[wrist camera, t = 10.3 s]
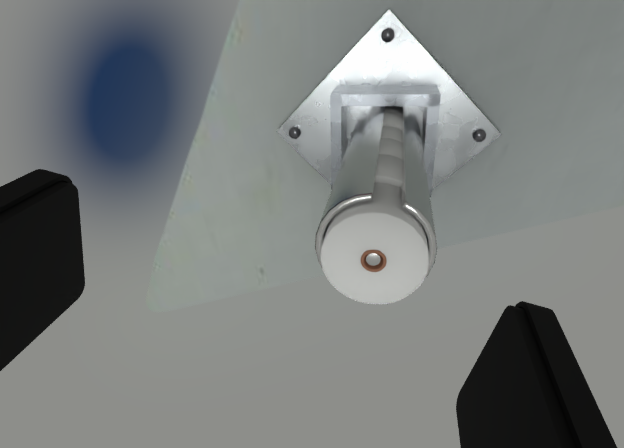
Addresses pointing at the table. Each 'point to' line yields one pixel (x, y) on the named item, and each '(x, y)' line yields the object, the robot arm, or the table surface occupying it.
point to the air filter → (379, 211)
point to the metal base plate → (389, 104)
